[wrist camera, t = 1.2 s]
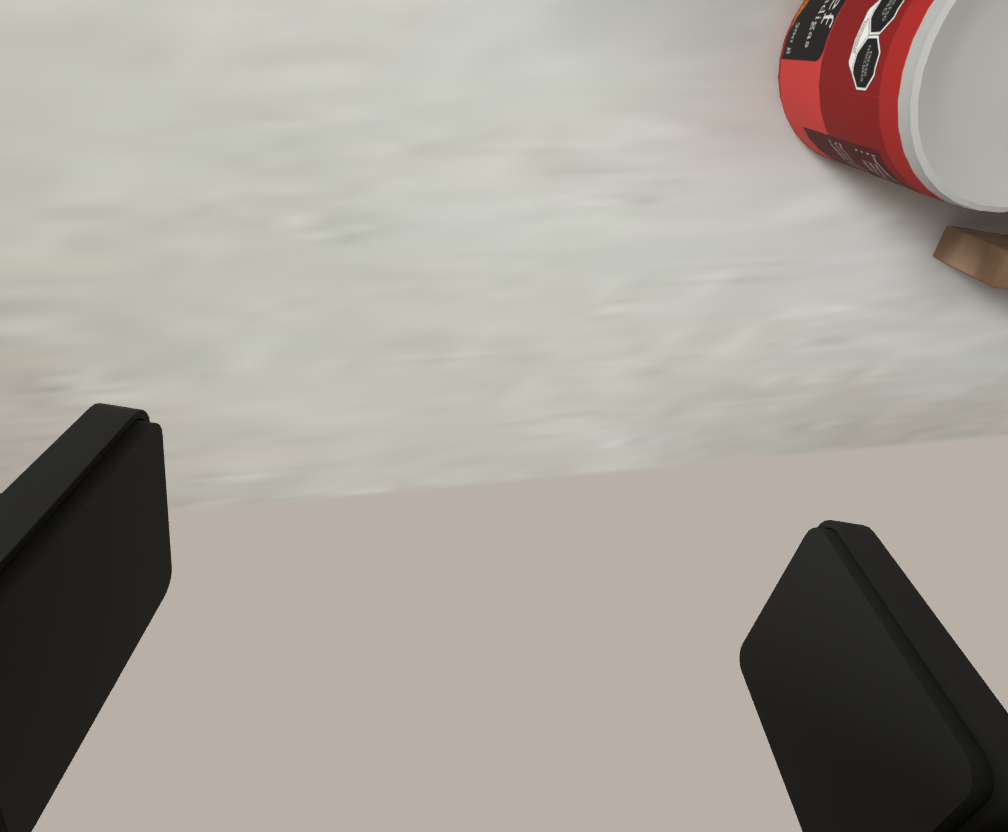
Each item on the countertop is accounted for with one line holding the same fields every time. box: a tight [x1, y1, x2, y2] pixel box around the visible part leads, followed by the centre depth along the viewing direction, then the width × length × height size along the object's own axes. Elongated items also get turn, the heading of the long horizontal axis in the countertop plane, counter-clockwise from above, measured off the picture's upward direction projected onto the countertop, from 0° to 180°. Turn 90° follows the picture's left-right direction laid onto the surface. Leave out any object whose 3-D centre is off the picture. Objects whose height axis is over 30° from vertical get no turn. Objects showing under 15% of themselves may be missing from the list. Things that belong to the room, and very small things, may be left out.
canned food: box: [778, 0, 1008, 212], centre depth 23 cm, size 8×8×11 cm
